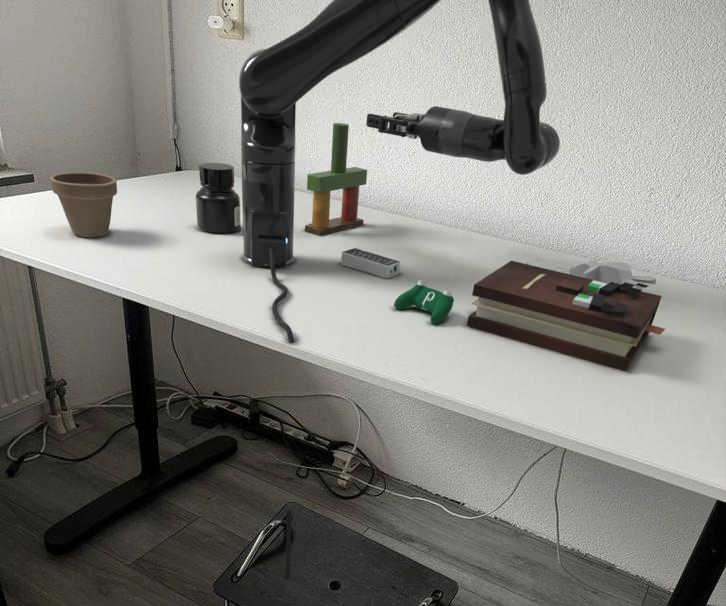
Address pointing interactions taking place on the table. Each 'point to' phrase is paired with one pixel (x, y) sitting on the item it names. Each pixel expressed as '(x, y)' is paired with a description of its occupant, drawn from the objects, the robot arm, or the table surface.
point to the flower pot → (86, 201)
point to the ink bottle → (217, 199)
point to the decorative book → (566, 313)
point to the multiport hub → (370, 263)
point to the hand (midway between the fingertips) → (380, 119)
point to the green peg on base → (337, 166)
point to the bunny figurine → (610, 273)
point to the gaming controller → (426, 301)
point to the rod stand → (326, 226)
